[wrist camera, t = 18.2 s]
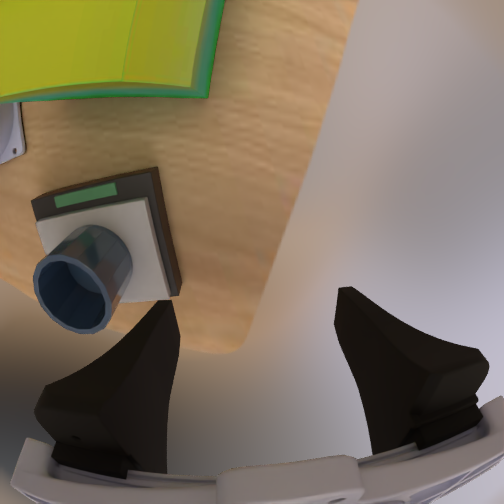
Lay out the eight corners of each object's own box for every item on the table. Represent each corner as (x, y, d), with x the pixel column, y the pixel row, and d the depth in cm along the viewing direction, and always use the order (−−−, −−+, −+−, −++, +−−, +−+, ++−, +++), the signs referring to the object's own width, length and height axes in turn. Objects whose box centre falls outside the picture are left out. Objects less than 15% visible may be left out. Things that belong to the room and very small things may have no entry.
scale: (75, 292, 23) (63, 310, 20) (42, 193, 19) (24, 204, 16) (182, 283, 23) (177, 302, 20) (157, 166, 19) (147, 174, 16)
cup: (65, 282, 19) (38, 318, 15) (66, 216, 17) (30, 244, 13) (129, 302, 20) (111, 344, 16) (137, 234, 18) (113, 269, 14)
